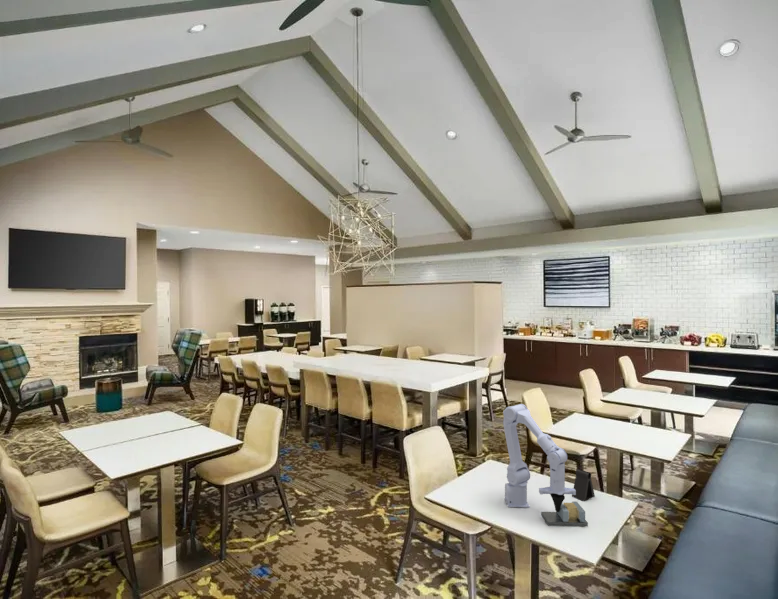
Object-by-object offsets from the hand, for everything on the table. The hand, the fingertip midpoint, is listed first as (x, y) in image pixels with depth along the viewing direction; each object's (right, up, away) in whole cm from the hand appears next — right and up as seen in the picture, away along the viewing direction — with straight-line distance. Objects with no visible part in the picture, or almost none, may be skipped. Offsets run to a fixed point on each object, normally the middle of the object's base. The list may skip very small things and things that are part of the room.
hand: (557, 511), depth 189 cm
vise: (+3, -4, 0) cm, 5 cm away
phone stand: (+21, -4, +22) cm, 31 cm away
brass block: (+5, -2, 0) cm, 6 cm away
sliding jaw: (+2, -2, 0) cm, 3 cm away
